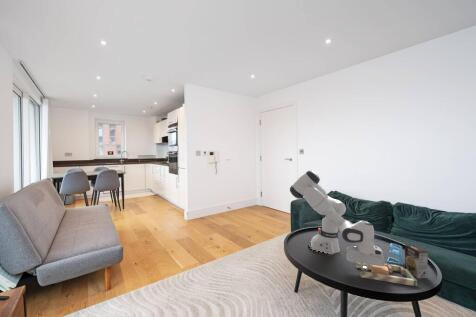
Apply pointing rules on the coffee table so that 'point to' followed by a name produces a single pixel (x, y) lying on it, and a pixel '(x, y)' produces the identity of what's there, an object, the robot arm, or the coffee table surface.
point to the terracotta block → (379, 269)
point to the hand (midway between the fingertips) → (364, 270)
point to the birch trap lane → (407, 281)
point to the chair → (396, 253)
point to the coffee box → (416, 261)
